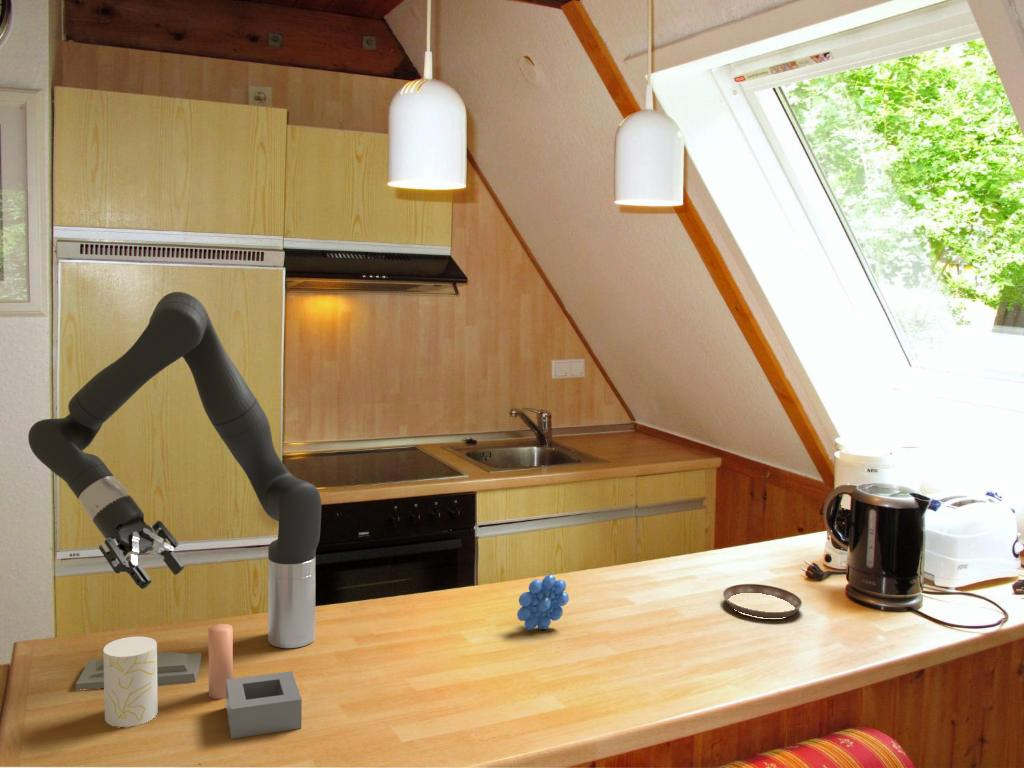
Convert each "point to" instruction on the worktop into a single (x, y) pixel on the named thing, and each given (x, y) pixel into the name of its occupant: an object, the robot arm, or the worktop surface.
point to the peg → (220, 659)
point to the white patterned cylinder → (130, 681)
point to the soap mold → (168, 670)
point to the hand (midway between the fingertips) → (164, 578)
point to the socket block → (263, 704)
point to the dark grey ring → (766, 590)
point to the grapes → (542, 602)
